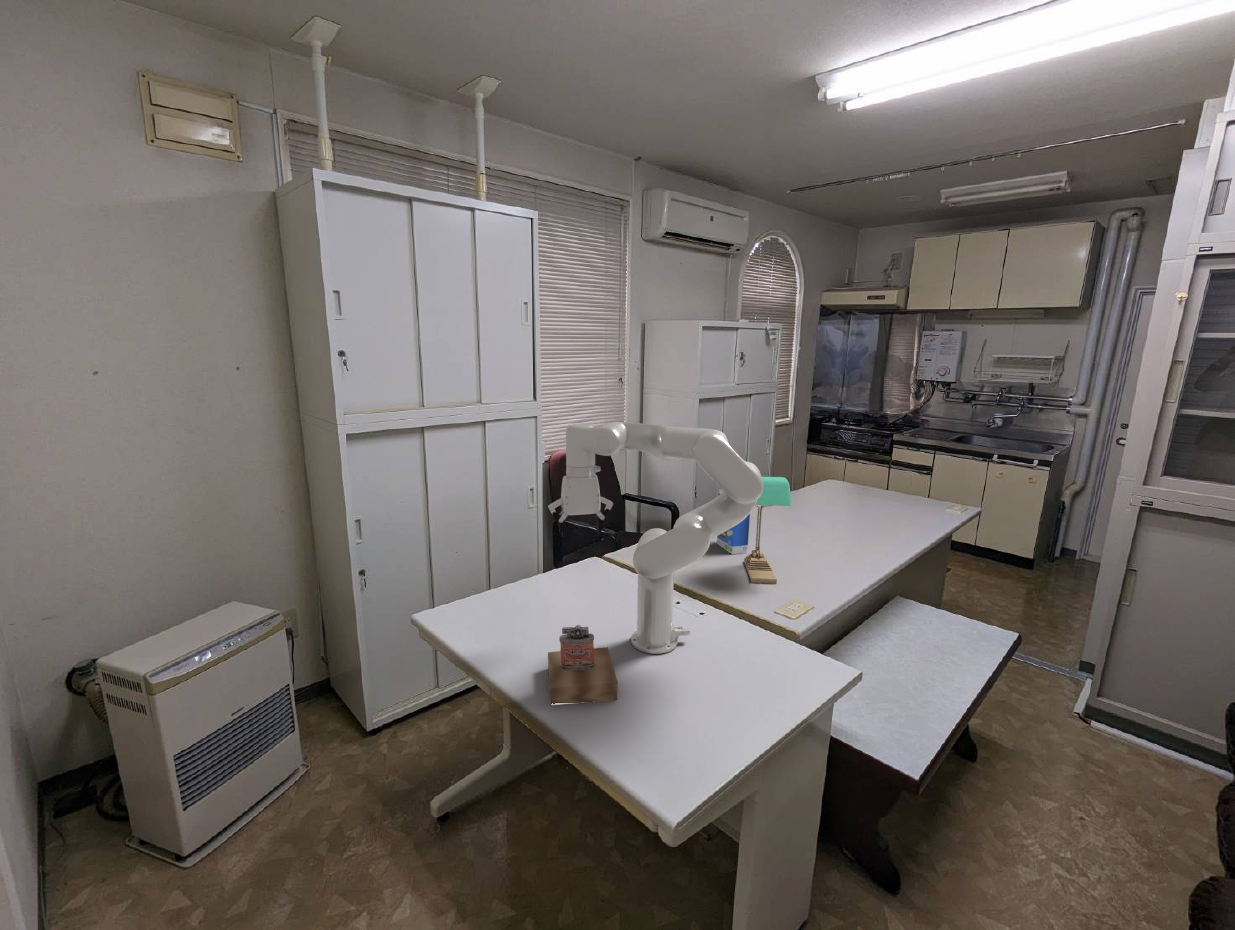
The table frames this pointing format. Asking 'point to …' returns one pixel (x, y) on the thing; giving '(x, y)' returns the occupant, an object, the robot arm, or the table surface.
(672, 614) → the robot arm
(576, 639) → the lighter
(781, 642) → the table surface
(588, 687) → the walnut block
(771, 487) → the banker's lamp
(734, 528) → the string lights box
